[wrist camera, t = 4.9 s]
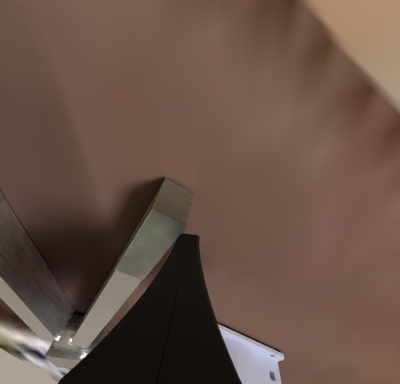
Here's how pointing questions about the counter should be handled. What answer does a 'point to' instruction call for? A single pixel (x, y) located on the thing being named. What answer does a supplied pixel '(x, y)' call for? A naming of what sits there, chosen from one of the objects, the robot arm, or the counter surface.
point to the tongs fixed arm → (35, 289)
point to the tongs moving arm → (132, 264)
